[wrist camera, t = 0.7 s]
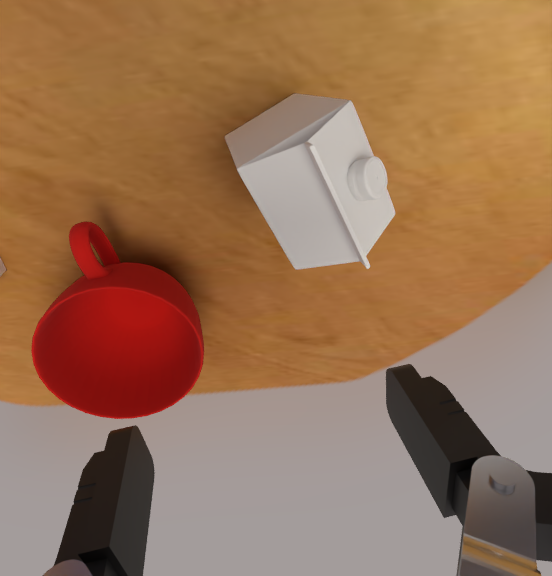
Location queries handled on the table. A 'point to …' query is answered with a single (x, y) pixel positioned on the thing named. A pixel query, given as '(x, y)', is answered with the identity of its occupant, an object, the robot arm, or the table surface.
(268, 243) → the table surface
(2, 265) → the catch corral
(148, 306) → the ceramic cup
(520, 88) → the table surface
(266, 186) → the milk carton
